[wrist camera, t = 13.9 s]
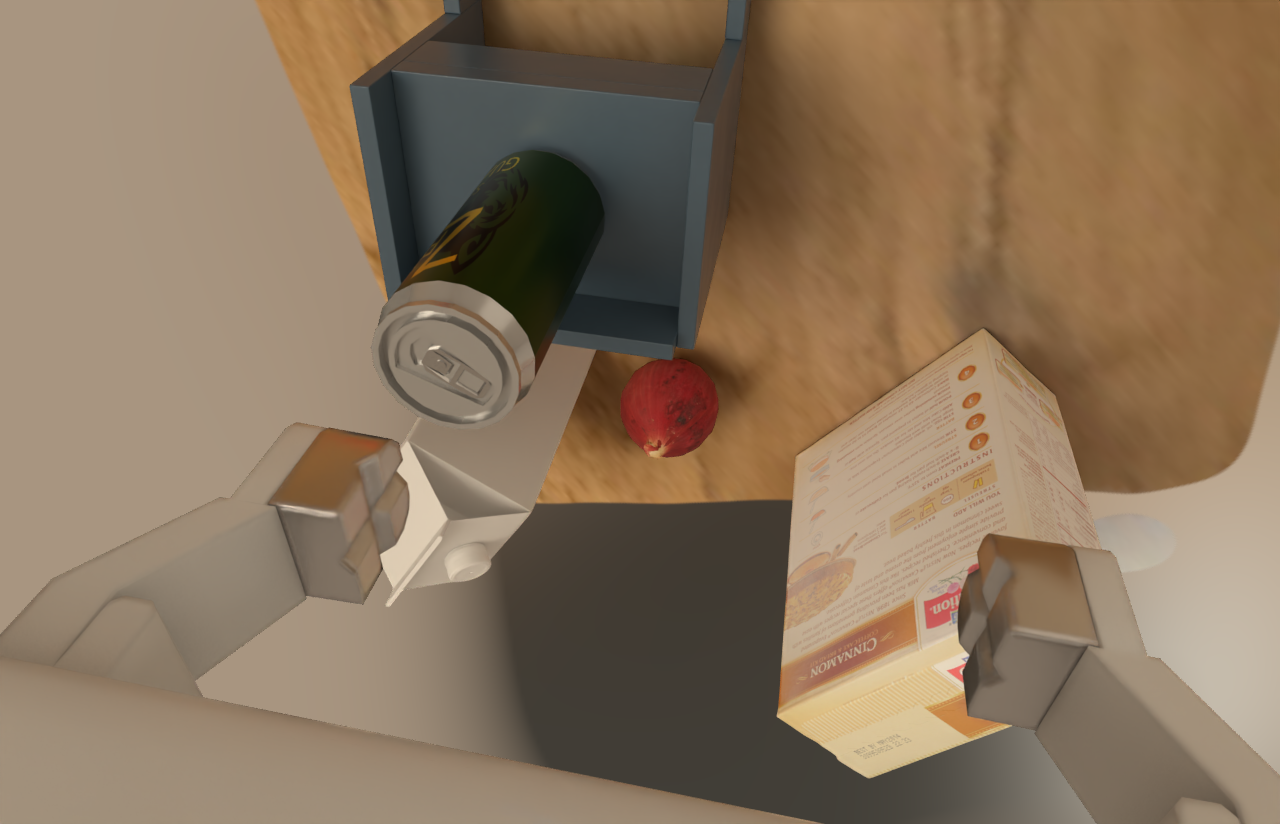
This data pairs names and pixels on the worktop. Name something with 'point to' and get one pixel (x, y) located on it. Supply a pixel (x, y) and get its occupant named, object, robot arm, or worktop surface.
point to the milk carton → (480, 479)
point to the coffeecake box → (914, 550)
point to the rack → (579, 130)
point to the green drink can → (490, 293)
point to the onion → (669, 407)
